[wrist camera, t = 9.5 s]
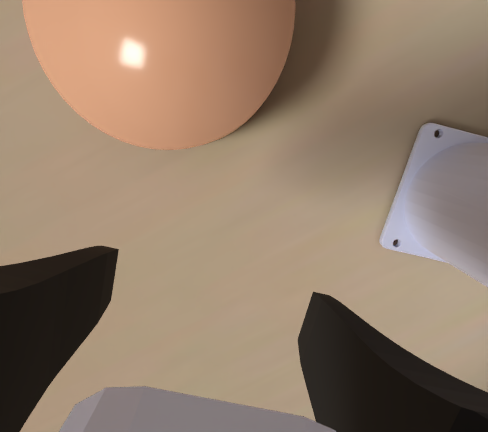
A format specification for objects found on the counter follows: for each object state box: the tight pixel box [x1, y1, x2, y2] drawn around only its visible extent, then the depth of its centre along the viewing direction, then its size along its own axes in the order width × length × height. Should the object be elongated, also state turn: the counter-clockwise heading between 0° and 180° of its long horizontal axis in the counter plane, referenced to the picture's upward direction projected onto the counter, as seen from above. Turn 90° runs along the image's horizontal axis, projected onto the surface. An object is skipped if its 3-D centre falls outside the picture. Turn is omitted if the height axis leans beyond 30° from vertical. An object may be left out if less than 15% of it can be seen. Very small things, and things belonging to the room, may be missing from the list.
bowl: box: [22, 0, 295, 150], centre depth 16 cm, size 12×12×4 cm
